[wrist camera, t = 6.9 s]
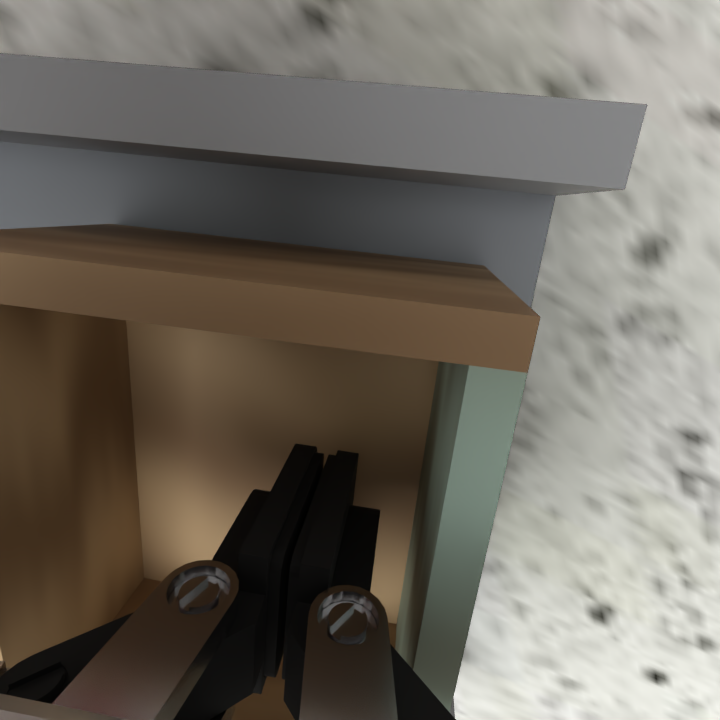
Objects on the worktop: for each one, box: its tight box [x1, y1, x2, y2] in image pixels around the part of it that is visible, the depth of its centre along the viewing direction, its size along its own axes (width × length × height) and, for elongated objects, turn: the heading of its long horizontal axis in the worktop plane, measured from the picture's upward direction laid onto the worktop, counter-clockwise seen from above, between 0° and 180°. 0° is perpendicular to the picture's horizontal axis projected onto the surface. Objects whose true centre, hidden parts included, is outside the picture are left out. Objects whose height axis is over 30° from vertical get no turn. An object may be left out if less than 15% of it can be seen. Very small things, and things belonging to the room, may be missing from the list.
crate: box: [0, 224, 540, 720], centre depth 11 cm, size 12×10×6 cm
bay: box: [0, 53, 647, 718], centre depth 13 cm, size 18×22×5 cm
